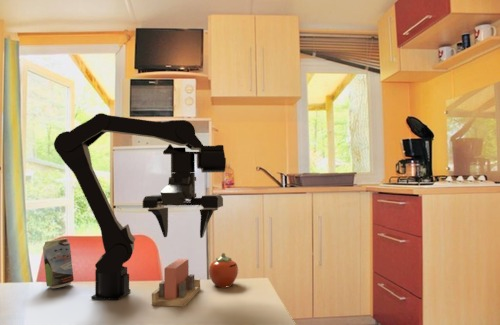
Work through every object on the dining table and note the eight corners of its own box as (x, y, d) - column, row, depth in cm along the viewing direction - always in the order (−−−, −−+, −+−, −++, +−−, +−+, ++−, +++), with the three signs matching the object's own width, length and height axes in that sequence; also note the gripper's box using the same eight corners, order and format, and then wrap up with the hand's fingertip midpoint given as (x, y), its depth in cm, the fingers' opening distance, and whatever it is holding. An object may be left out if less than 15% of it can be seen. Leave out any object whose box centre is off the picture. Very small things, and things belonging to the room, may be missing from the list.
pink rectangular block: (175, 298, 80) (175, 268, 80) (164, 298, 80) (164, 268, 80) (188, 286, 89) (188, 259, 89) (178, 286, 89) (178, 258, 89)
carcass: (151, 305, 79) (151, 286, 79) (171, 288, 91) (171, 271, 91) (184, 306, 78) (184, 287, 78) (200, 289, 90) (200, 272, 90)
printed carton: (62, 291, 89) (62, 241, 90) (36, 289, 91) (36, 240, 91) (79, 283, 95) (79, 236, 96) (54, 282, 97) (54, 236, 97)
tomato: (231, 291, 88) (230, 257, 89) (203, 287, 91) (203, 254, 91) (242, 282, 95) (242, 251, 96) (216, 279, 98) (216, 249, 98)
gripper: (131, 173, 84) (131, 242, 84) (210, 172, 81) (211, 244, 80) (152, 173, 95) (152, 234, 95) (223, 172, 92) (224, 235, 91)
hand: (183, 237), depth 90 cm, fingers open, 9 cm apart
